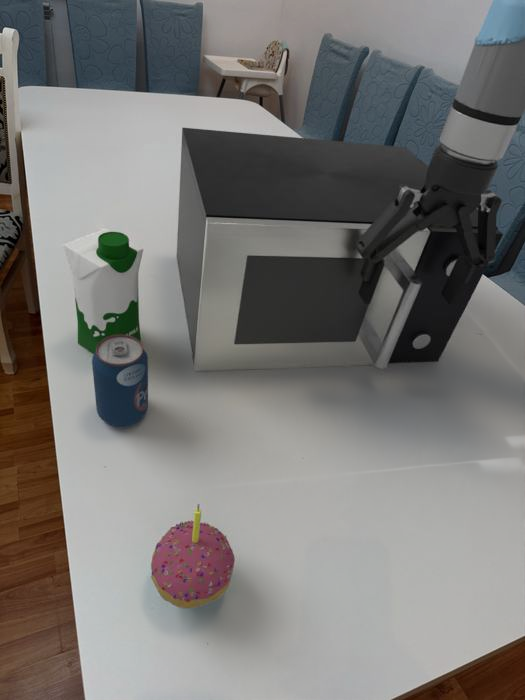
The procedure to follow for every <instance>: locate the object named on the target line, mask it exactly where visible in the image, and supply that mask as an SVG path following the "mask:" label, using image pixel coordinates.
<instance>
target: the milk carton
mask: <svg viewBox="0 0 525 700" xmlns="http://www.w3.org/2000/svg"><path fill="white" fill-rule="evenodd" d="M62 246H63V249H64V252H65V257H66V259H67V262H68V266H69V270H70V272H71V276H72V277H71V278H72V284H73V285H72V286H73V293H74V302H75V308H76V309H75V311H76V319H77V320H76V321H77V344H78V345H79V346H81V347H82V348H84V349H85V350H87V352H89V353H91V354H93V355H94V353H95V351H96V347H97V345H98V344H99V342H100V341H102V340H103V339H105V338H107V337H109V336H113V335H128V336H132V337H134V338H136V339H138V340H139V341H140V342H141V343H142V337H141V328H140V327H141V325H140V309H139V307H140V305H139V301H140V299H139V298H140V297H139V271H140V267H141V261H142V257H143V253H144V248H143V247H141V246H140V245H137V244H136V243H135V242H132V241H130V238H129V236H128V235H126V234H125V233H123V232H119V231H112V230H109V229H108V228H102V229H99V230H98V231H95V232H92V233H89V234H87V235H83V236H81V237H79V238H76V239H73V240H71V241H68V242H65V243H63V244H62Z"/></svg>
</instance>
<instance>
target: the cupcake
mask: <svg viewBox="0 0 525 700" xmlns="http://www.w3.org/2000/svg"><path fill="white" fill-rule="evenodd" d="M200 507H201V506H200V503H197V507H196V508H195V510H194V512H193V513H194V514H193V520H188V521H179V523H176V525H175V526H171V527H170V529H169V530H167V531H166V532H165V534H164V535H162V537H161V539H159V542H157V543H156V546H155V547H154V548H155V549H154V551H153V553H152V557H151V563H150V568H151V577H150V578H151V580H152V583H153V585H154V586H155V588H156V590H157V592H158V594H159V596H160V597H161V598H162V599H163V600H164V601H166V602H168V603H170V604H172V605H174V606H176V607H177V608H179V609H193V608H197V607H201V606H204V605H206V604H208V603H210V602H214V601H216V600H218V599H219V598H221V597H222V595H223V594H224V593H225V592H226V591H227V589H228V588H229V585H230V583H231V580H232V575H233V573H234V567H235V563H236V562H235V561H236V558H235V554H234V551H233V549H232V547H231V544H230V542H229V540H228V538H227V535H225V534H224V533H222V532H221V531H220V530H219V528H217V527H215V526H212V525H210V524H209V523H208V522H201V521H202V520H201V519H202V509H200Z"/></svg>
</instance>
